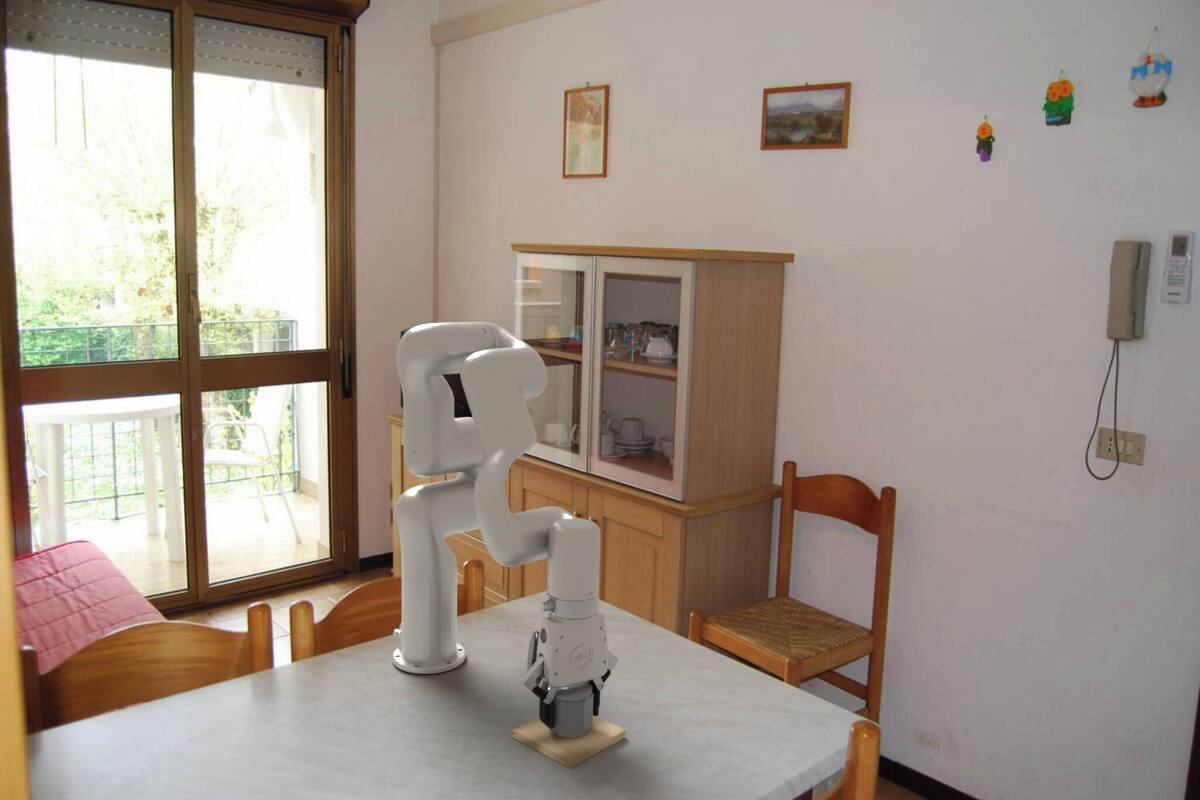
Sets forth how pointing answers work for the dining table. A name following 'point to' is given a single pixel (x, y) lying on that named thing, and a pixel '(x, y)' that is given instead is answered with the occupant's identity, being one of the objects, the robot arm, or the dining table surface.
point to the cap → (573, 709)
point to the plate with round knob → (569, 740)
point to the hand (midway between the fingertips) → (569, 717)
